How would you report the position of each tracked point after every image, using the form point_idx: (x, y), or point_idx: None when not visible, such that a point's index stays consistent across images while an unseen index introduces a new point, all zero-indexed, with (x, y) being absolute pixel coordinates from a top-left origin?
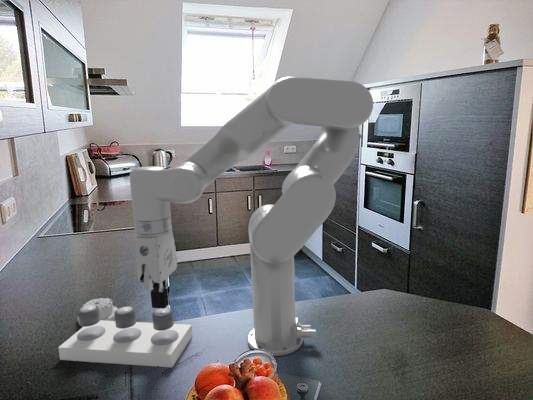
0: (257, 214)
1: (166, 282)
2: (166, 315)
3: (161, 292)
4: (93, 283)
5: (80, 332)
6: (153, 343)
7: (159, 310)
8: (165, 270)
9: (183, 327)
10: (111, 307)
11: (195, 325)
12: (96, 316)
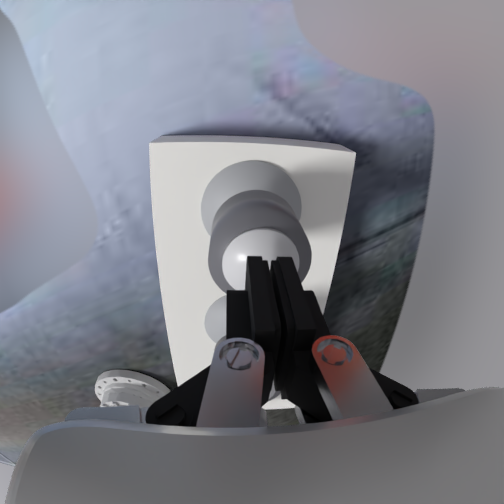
0: None
1: (242, 375)
2: (289, 232)
3: (310, 340)
4: (48, 422)
5: None
6: None
7: None
8: (466, 489)
9: (173, 166)
10: (119, 395)
11: (94, 154)
12: None
